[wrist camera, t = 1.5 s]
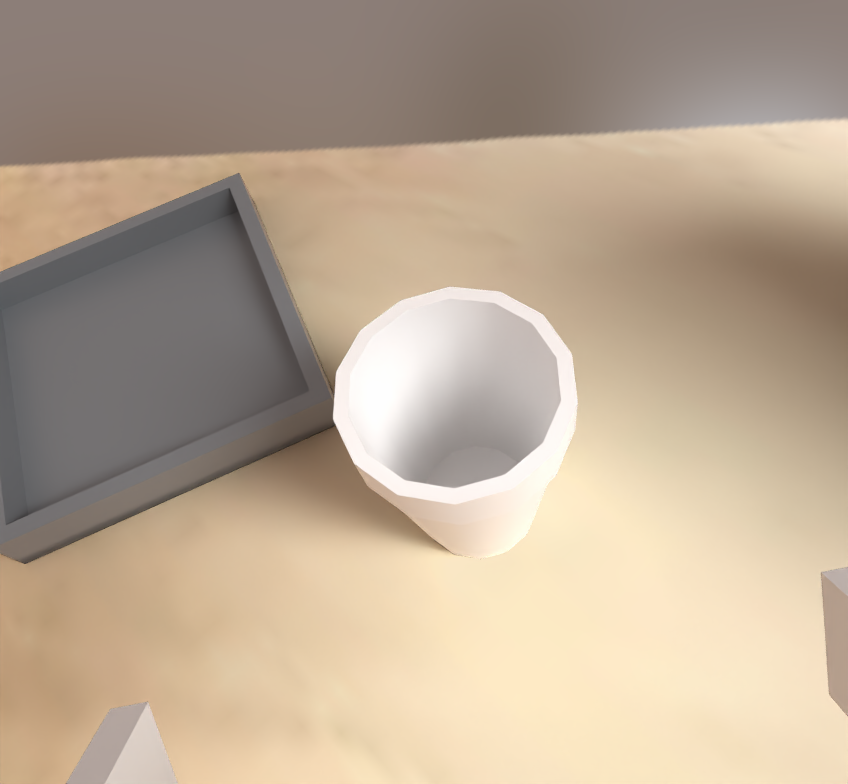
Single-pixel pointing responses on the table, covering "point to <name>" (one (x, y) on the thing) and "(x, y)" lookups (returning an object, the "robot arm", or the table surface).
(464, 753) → the table surface
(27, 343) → the tray
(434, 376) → the foam cup
